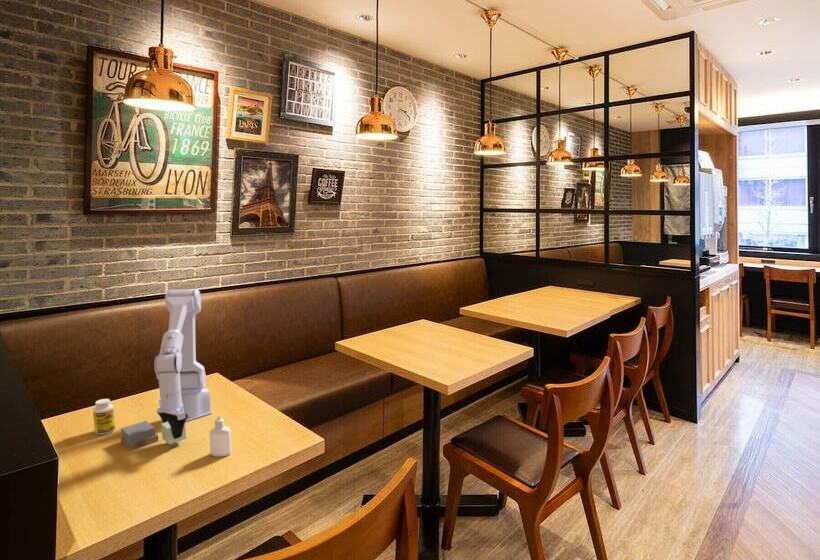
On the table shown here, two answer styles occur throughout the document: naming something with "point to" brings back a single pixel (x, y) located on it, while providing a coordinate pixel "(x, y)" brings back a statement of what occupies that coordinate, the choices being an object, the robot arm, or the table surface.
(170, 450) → the table surface
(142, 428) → the slate gray middle block
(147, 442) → the walnut base slab
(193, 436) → the table surface
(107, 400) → the supplement bottle
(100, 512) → the table surface
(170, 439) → the sage cube
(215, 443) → the eye dropper bottle
